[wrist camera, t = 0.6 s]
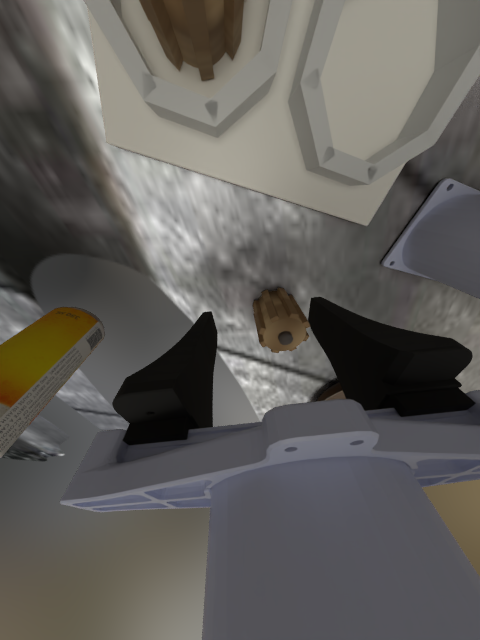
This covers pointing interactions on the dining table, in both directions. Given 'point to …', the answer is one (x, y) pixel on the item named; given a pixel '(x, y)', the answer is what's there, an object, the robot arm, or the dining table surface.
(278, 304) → the loose gear
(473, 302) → the dining table surface
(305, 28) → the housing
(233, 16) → the seated gear
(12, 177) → the dining table surface
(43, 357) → the beer can
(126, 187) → the dining table surface
